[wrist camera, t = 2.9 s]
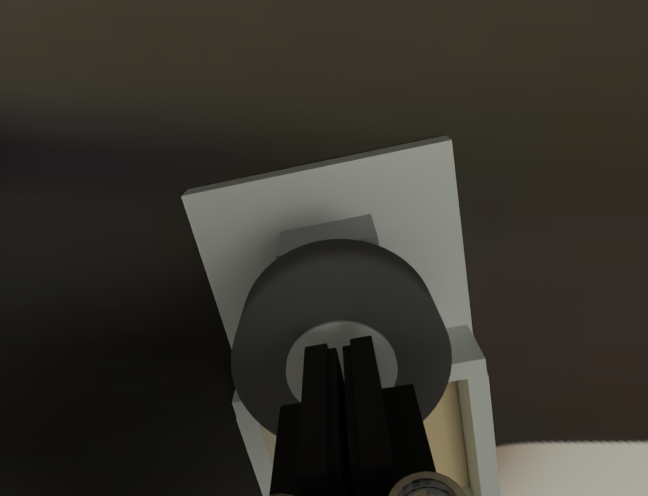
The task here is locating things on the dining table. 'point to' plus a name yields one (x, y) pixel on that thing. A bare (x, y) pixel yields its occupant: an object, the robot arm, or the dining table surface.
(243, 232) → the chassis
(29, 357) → the dining table surface
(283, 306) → the wheel
